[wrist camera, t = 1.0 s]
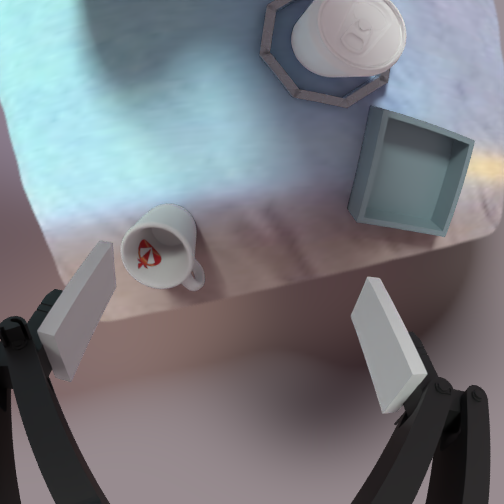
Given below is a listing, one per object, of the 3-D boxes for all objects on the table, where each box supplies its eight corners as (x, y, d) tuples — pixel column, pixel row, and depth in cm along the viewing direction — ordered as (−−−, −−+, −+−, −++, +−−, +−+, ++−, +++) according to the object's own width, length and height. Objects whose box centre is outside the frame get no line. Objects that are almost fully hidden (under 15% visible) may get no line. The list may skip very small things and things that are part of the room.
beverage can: (374, 36, 28) (427, 23, 17) (340, 91, 31) (382, 96, 21) (312, -3, 26) (341, -38, 15) (276, 53, 29) (290, 37, 19)
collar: (271, -23, 25) (272, -27, 23) (393, 7, 26) (398, 5, 24) (253, 91, 31) (254, 91, 30) (376, 115, 32) (381, 116, 31)
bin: (370, 105, 32) (383, 108, 28) (457, 133, 33) (474, 140, 29) (347, 208, 38) (356, 222, 35) (431, 223, 39) (445, 237, 36)
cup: (230, 247, 41) (226, 284, 34) (183, 278, 43) (172, 317, 36) (174, 182, 36) (156, 207, 29) (128, 219, 39) (105, 251, 32)
